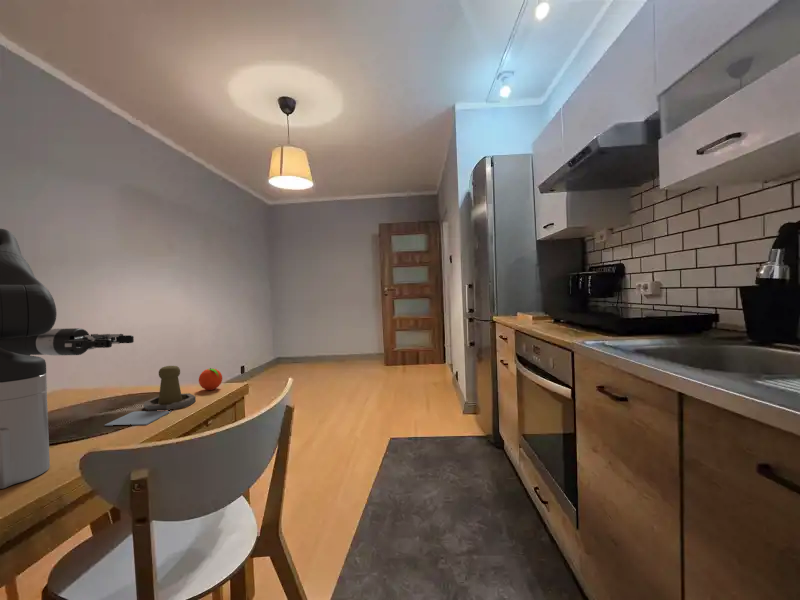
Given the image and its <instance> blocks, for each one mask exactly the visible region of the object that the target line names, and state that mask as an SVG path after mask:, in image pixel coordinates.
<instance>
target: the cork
mask: <svg viewBox="0 0 800 600" xmlns="http://www.w3.org/2000/svg"><path fill="white" fill-rule="evenodd" d="M180 374H181V368H180V367H179V366H178V365H165V366H162V367H160V368H159V370H158V377H159V378H160V386H159V387H160V388H159V393H158V394H159V395H158V397H159V401H158V404H169V403H174V402H179V401H183V400H182V396H181V394H182V393H181V392H182V391H181V385H180V379H179V376H180Z"/></svg>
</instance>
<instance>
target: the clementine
mask: <svg viewBox="0 0 800 600" xmlns="http://www.w3.org/2000/svg"><path fill="white" fill-rule="evenodd" d="M222 382H223V374H222V373H221V371H219V369H217V368H211V367H209V368H207V369H204V370H203V371H202V372H201V373H200V375H199V376H198V384H199V386H200V387H201V388H202V389H203V390H207V391H212V390H215V389H217V388H219V387H220V385H221V384H222Z"/></svg>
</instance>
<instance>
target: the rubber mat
mask: <svg viewBox="0 0 800 600" xmlns="http://www.w3.org/2000/svg"><path fill="white" fill-rule="evenodd" d="M169 412H170V413H171V412H172V410H170V411H162V412H161V411H147V410H146V411H145V410H143V411H132V412H129V413H127V414H125V415H123V416H120V417H118V418H116V419H114V420H112V421H109V422H107V423H106V424H104V427H114V426H113V425H130V424H131V425H132V426H148V425H149V424H150V425H151V424H152V423H153V422H155V421H157V420H159V419H160V417H161V418H162V416H163V417H165V416H166V415H168V414H170V413H169Z"/></svg>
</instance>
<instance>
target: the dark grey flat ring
mask: <svg viewBox="0 0 800 600" xmlns="http://www.w3.org/2000/svg"><path fill="white" fill-rule="evenodd" d="M181 396H182V401H179V402H174V403H169V404H157V403H158V401H159V396H156V397H152V398H150V399H148V400H146V401H144V402H143V408H144V409H145V410H146V409H147V410H148V411H157V410H169V409H174V410H178V409H177V408H179V409H183V408H182V407H184V408H187V407H189V406H191V405H193V404H195V403H196V399H197V398H196V395H194V394H193V393H189V392H188V393H181ZM147 410H146V411H147Z"/></svg>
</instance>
